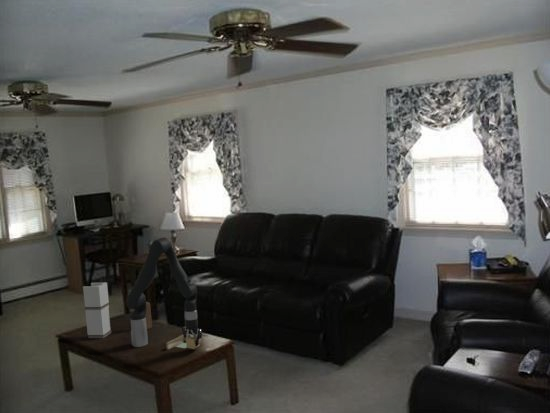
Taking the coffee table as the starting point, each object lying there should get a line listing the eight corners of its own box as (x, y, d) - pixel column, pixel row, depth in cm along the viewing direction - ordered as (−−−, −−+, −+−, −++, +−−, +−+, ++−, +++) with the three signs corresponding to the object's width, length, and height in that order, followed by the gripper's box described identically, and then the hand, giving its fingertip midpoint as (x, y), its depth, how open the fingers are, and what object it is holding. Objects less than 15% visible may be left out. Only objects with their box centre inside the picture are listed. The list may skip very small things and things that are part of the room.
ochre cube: (186, 347, 293) (185, 338, 293) (192, 344, 298) (191, 335, 298) (193, 348, 291) (193, 339, 290) (199, 345, 295) (198, 336, 295)
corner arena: (166, 349, 299) (166, 343, 298) (185, 339, 313) (184, 333, 313) (183, 352, 292) (182, 345, 292) (201, 342, 307) (200, 336, 306)
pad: (175, 346, 302) (175, 346, 302) (183, 342, 308) (183, 342, 308) (184, 348, 298) (184, 348, 298) (192, 344, 305) (192, 343, 305)
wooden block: (140, 331, 336) (138, 305, 334) (137, 329, 339) (135, 304, 338) (152, 327, 342) (150, 302, 340) (149, 326, 345) (147, 301, 344)
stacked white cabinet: (111, 332, 337) (106, 282, 334) (103, 338, 327) (98, 286, 324) (96, 332, 339) (91, 282, 336) (87, 338, 329) (82, 286, 326)
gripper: (177, 318, 293) (179, 345, 295) (196, 320, 286) (198, 349, 288) (185, 314, 300) (187, 341, 301) (204, 317, 292) (206, 344, 294)
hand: (193, 344), depth 294 cm, fingers closed on ochre cube, 5 cm apart
